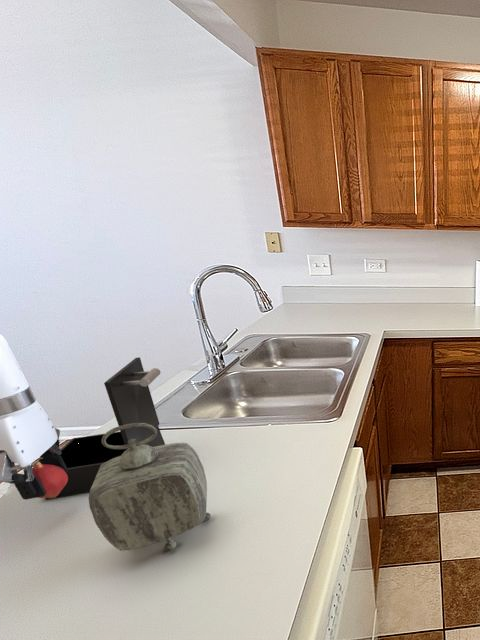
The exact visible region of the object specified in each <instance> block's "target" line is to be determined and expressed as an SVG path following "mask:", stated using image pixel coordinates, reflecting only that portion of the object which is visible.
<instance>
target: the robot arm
mask: <svg viewBox="0 0 480 640" xmlns="http://www.w3.org/2000/svg"><path fill="white" fill-rule="evenodd" d="M25 376H26V375H24V373H23V371H22V368H21V366H20V364H19V363H18V360H17V359H16V356H15V355H14V352H13V351H12V349H11V346H10V344H9V343H8V341H7V339H6V337H4V336H3V335H2V334H1V333H0V482H3V483H7V484H10V485H14V486H15V488H16V490H17V491H18V493H19V495H20V497H21V498H22V499H23V500H25V501H26V500H30V499H32V500H33V499H37V498H38V497H43V496H45V495H46V491H45V489H44V487H43V485H42V483H41V482H40V480H39V478H38V477H35V478H34V475H33V469H32V468H33V463H35V462H36V460H38V463H41V464H50V465H54V466H58V467H60V468H62V469H63V470H64V471H65V472H66V473H67V472H68V469H67V467H66V465H65V463H64V461H63V459H62V457H61V456H59V455H61V448H60V435H61V430H60V429H59V428H57V427H55V426H54V424H53V422H52V420H51V419H50V417H49V415H48V414H47V413H46V411H45V409H44V408H43V407H42V405H41V404H40V402H39V401H38V400H37V398H36V397H35V395H34V392H33V391H32V389H31V386H30V384H29V382H28V380H27V378H26V377H25ZM38 458H39V459H38ZM20 469H22V470H23V473H18V470H20Z"/></svg>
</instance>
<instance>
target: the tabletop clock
mask: <svg viewBox="0 0 480 640" xmlns="http://www.w3.org/2000/svg"><path fill="white" fill-rule="evenodd" d="M132 427H147V428H150V429H152V430H153V431H154V434H153V435H152V436H151V437H149V438H147V439H145V440H143V441H139V442H137V441H136V439H130V440H129V441H128V444H127V445H120V446H113V445H108V444H107V443H106V438H107V437H108V436H109V435H110V434H112V433H114V432H120V430H123V429H127V428H132ZM104 434H105V435H104V436H103V437H102V444H103V445H104V446H105V447H107V448H110V449H127V450H126V451H124V453H123V454H122V456H119V457H116V458H113V459H111V460H109V461H107V462H105V463H104V464H102V465H101V466H100V468H99V471H98V473H97V475H96V478H95V480H94V482H93V485H92V487H91V489H90V492H88V493H89V494H88V506H89V510H90V512H91V515H92V518H93V521H94V523H95V525H96V527H97V528H98V529H99V531H100V532H101V534H102V535H103V537H104V538H105V540H106V541H108V542H109V544H110V545H112V546H113V547H114V548H116V549H117V550H118V551H120V552H123V551H132V550H136V549H141V548H144V547H146V546H150V545H152V544H156V543H159V542H162V541H166V543H165V544H164V549H165V551H172V550H174V549H176V546H177V542H176V541H175V540H172V538H174V537H176V536H179V535H181V534H183V533H186V532H188V531H191V530H192V529H194V528H195V527H197V526H198V525H200V524H201V523H202V522H207V521H209V520H210V518H211V513H210V512H207V501H208V481H207V476H206V472H205V467H204V466H203V463H202V462H201V459H200V457H199V455H198V454H197V452H196V450H195V449H194V448H193V447H192V446H191V445H190V444H189V443H188V442H172V443H165V445H160V446H155V447H151V446H148V445H144V444H146V443H148V442H149V441H151V440H153V439H154V437H155V436H156V434H157V430H156V428H155V427H153V426H152V425H149V424H146V423H131V424H126V425H122V426H116V427H113V428H111V429H109V430H108V431H106V432H105V433H104ZM128 448H129V449H128Z"/></svg>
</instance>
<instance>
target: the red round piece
mask: <svg viewBox="0 0 480 640" xmlns="http://www.w3.org/2000/svg"><path fill="white" fill-rule="evenodd" d="M32 469H33V475H34V478H35V477H38V478H39V480H40V482H41V483H42V485H43V487H44V489H45V491H46V495H45V496H43V497H38V498H39V499H45V498H54V497H56V496H57V495H58V494H59V493H60V491H61V490H62V489H63V488H64V486H65V485H66V484H67V481H68V475H67V474H66V472H65V471H64V470H63V469H62V468H60V467H58V466H54V465H50V464H41V463H40V462H34V464H33V466H32ZM54 499H55V498H54Z"/></svg>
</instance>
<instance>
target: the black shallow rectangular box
mask: <svg viewBox="0 0 480 640" xmlns="http://www.w3.org/2000/svg"><path fill="white" fill-rule="evenodd" d="M156 430H157V434H156V436H155V437H154V439H153V440H151V441H149V442H148V443H146V444H144V445H148V446H151V447H155V446H160V445H166V443H165V440H164V438H163V434H162V432H161V429H160V425H158V427H157V428H156ZM105 434H106V433H99V434H93V435H85V436H79V437H72V438H71V440H69V441H68V442H67V443H66V444H65V445H64V446H62V448H60V450H61V455H59V456H61V457H62V459H63V461H64V463H65V465H66V467H67V469H68V472H67V473H66V474H67V475H68V481H67V484H66V485H65V486H64V488H63V489H62V490H61V491H60V493H59V494H58V495H57V496H56V497H54V498H44V499H45V500H46V501H49V500H53V499H54V500H55V499H59V498H65V497H71V496H76V495H82V494H88V493H90V489H91V487H92V485H93V482H94V480H95V478H96V475H97V473H98V471H99V468H100V466H101V465H102V464H104V463H105V462H107V461H109V460H111V459H113V458H116V457H119V456H122V454H123V453H124V451H126V450H127V449H110V448H107V447H105V446H104V445H103V444H102V437H103V436H104V435H105ZM153 434H154V432H153V433H152V434H151V436H152V435H153ZM151 436H150V437H151ZM78 443H79V444H78ZM106 443H107V444H108V445H113V446H120V445H125V443H124V440H123V437H122V434H121V432H120V431H116V432H114V433H112V434H110V435H109V436H108V437H107V438H106Z"/></svg>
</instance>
